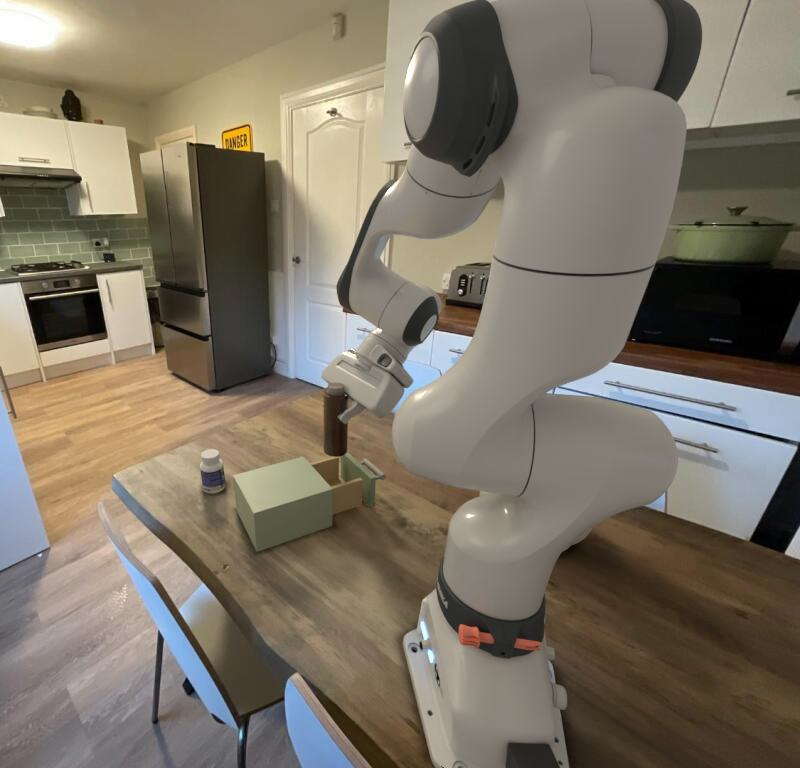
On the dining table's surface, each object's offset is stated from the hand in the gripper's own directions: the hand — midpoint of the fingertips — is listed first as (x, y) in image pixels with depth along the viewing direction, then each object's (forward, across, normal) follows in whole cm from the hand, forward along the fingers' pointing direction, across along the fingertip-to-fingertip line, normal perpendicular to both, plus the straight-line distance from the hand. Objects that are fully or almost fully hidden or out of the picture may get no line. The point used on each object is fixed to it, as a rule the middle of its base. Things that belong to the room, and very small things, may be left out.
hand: (333, 414), depth 80 cm
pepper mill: (+5, 0, +6) cm, 8 cm away
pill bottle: (+30, -16, -1) cm, 34 cm away
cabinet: (+23, 0, +6) cm, 24 cm away
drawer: (+13, 0, +15) cm, 20 cm away
